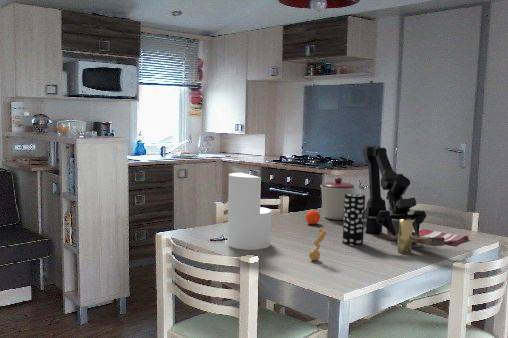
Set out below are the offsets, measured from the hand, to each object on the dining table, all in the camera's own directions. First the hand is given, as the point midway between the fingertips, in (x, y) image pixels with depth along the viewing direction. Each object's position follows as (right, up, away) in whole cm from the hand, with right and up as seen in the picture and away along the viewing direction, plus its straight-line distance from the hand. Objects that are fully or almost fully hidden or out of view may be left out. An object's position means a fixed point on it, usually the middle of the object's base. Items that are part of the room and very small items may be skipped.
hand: (406, 235), depth 198 cm
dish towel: (+21, -5, +28) cm, 35 cm away
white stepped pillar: (-60, -5, +10) cm, 61 cm away
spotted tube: (-18, -5, +15) cm, 24 cm away
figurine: (-36, -8, -12) cm, 39 cm away
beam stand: (+4, -6, +13) cm, 15 cm away
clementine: (-31, -1, +51) cm, 59 cm away
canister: (-16, 0, +66) cm, 68 cm away
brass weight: (0, -7, +2) cm, 7 cm away
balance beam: (+6, -3, +9) cm, 11 cm away
